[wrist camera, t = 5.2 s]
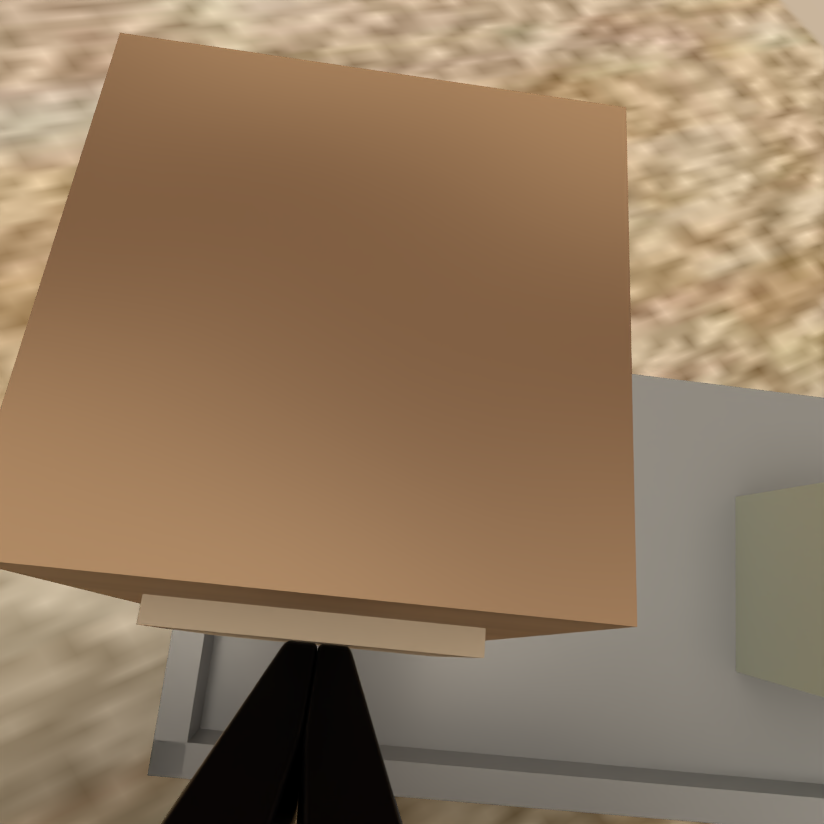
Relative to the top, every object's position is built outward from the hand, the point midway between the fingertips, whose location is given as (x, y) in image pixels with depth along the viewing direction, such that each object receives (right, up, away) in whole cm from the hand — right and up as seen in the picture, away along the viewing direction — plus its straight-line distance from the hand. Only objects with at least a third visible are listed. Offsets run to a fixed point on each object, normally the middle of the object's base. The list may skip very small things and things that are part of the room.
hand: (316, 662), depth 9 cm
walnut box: (-1, 0, +10) cm, 10 cm away
